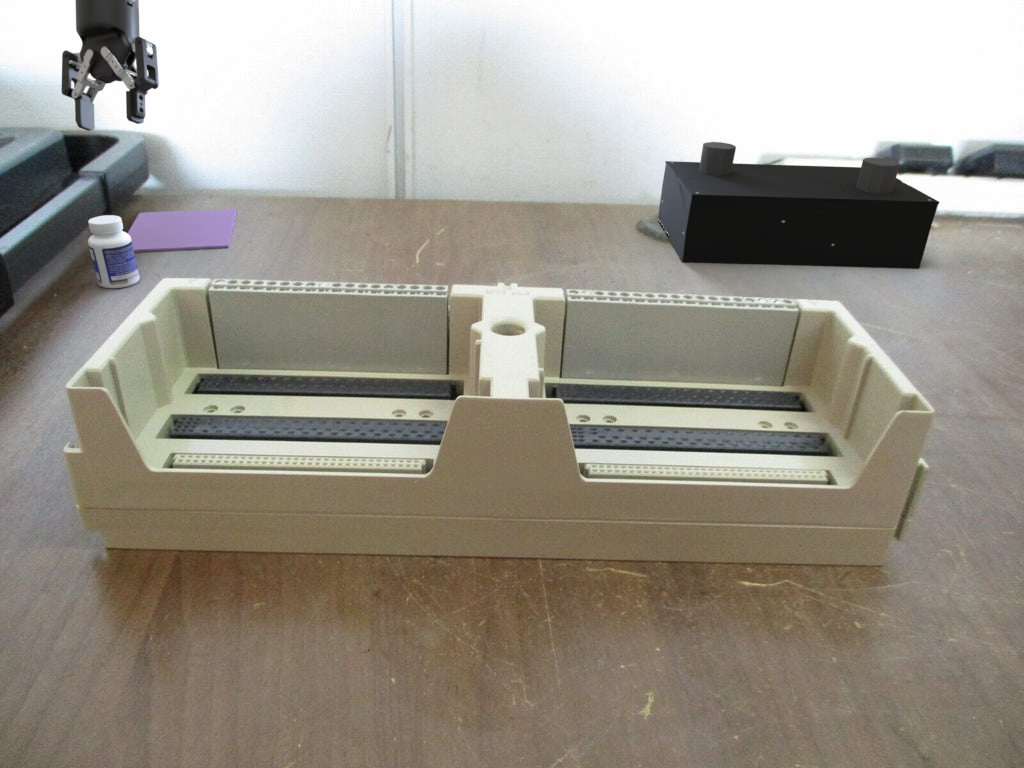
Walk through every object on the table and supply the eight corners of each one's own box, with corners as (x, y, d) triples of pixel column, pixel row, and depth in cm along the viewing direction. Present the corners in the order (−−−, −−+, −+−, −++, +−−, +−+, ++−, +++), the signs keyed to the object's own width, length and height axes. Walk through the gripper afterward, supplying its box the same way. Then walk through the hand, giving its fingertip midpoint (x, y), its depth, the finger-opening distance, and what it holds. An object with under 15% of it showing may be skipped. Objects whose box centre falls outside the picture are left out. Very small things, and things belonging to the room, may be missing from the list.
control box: (681, 261, 120) (696, 165, 113) (655, 216, 141) (665, 132, 134) (919, 268, 121) (948, 172, 114) (856, 222, 142) (878, 139, 135)
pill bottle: (148, 277, 108) (134, 215, 103) (126, 290, 103) (111, 226, 99) (112, 274, 108) (98, 212, 104) (89, 287, 104) (73, 223, 99)
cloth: (117, 253, 116) (116, 250, 116) (140, 214, 133) (139, 212, 132) (228, 247, 119) (228, 245, 119) (236, 211, 136) (236, 208, 136)
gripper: (42, -1, 101) (45, 123, 101) (127, -20, 96) (129, 110, 97) (90, 23, 108) (93, 139, 108) (171, 7, 103) (173, 128, 104)
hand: (110, 125), depth 102 cm, fingers open, 8 cm apart
